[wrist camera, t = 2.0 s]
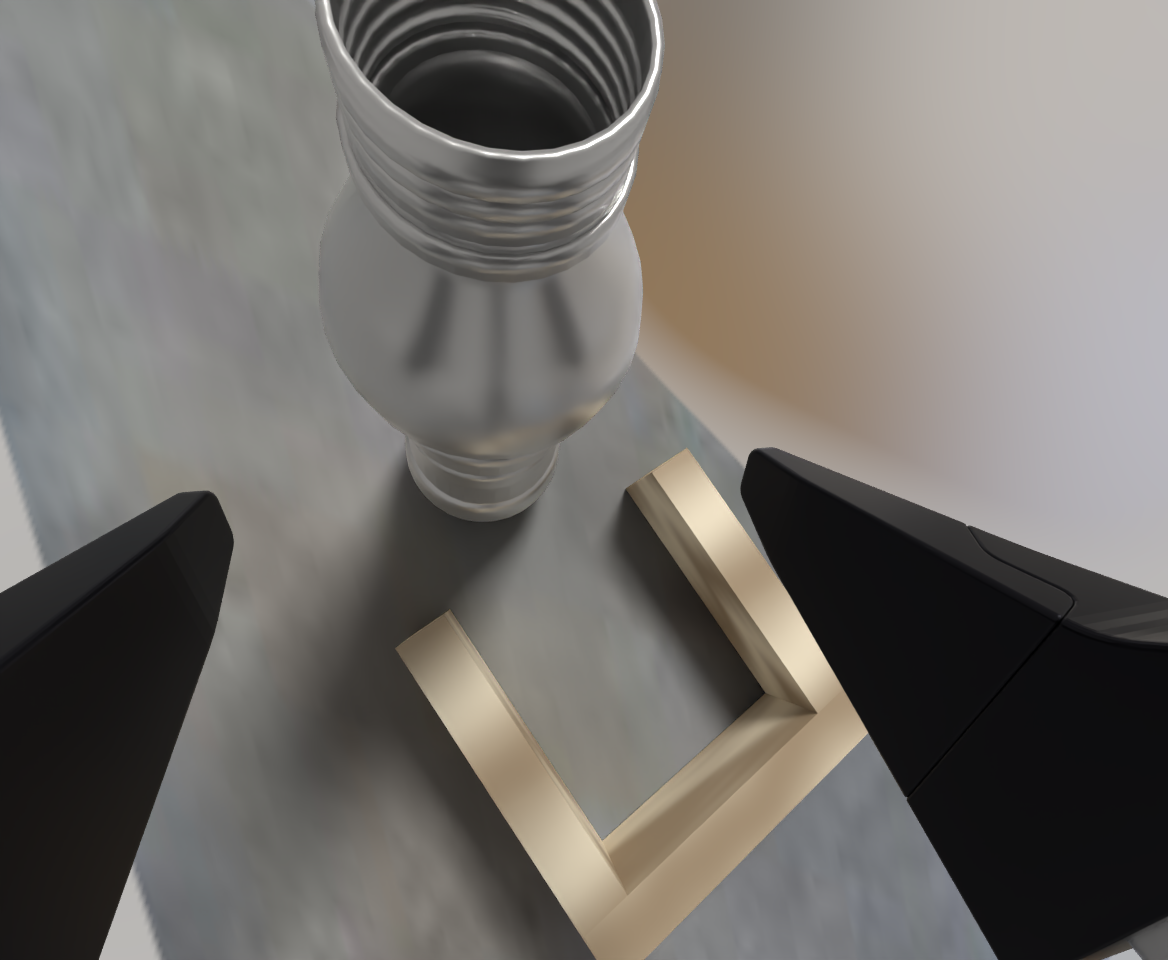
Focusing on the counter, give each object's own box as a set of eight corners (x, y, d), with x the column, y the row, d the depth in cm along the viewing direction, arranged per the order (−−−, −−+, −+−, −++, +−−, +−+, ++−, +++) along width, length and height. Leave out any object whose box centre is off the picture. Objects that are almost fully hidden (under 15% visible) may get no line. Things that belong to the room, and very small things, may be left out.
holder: (817, 701, 25) (878, 722, 22) (591, 916, 22) (615, 988, 18) (656, 467, 26) (687, 447, 22) (409, 636, 22) (395, 648, 18)
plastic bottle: (554, 397, 26) (776, -147, 6) (547, 532, 24) (804, 350, 5) (420, 384, 25) (205, -333, 5) (405, 525, 23) (46, 251, 4)
